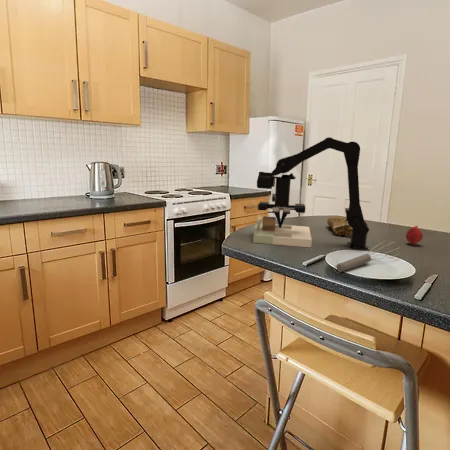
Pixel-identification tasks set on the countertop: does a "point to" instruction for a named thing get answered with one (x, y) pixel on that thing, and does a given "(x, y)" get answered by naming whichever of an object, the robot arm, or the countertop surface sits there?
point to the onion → (414, 235)
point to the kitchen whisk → (360, 260)
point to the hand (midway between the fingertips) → (280, 227)
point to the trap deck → (283, 235)
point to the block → (268, 223)
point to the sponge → (340, 226)
